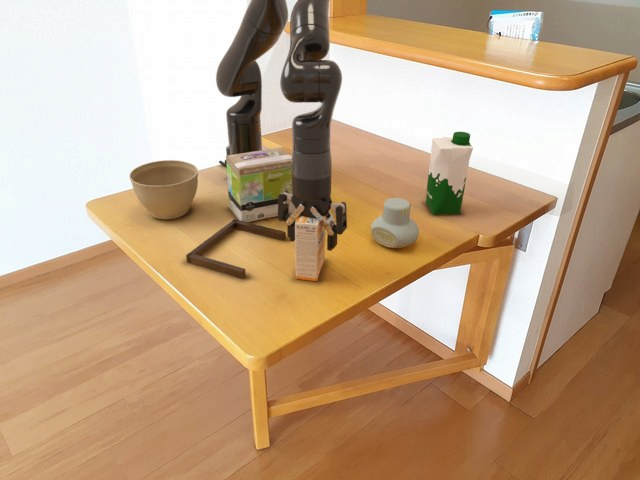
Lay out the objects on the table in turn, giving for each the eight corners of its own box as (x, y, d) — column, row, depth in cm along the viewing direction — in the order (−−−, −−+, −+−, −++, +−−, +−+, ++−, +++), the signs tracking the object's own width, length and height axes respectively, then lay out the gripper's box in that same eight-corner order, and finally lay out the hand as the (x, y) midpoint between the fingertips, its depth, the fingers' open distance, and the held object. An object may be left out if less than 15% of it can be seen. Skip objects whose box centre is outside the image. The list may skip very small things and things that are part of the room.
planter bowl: (160, 233, 121) (153, 191, 115) (124, 212, 130) (116, 172, 124) (215, 211, 131) (211, 171, 125) (178, 192, 140) (173, 155, 135)
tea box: (242, 225, 124) (238, 168, 117) (229, 208, 132) (224, 154, 125) (298, 212, 130) (297, 158, 123) (282, 197, 138) (280, 145, 131)
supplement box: (317, 282, 104) (318, 225, 97) (295, 279, 105) (294, 223, 98) (325, 260, 111) (326, 206, 104) (304, 258, 112) (303, 204, 105)
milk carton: (464, 215, 130) (477, 140, 120) (430, 216, 129) (440, 140, 119) (454, 200, 138) (465, 128, 127) (421, 201, 137) (429, 128, 127)
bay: (186, 262, 110) (185, 255, 109) (234, 225, 124) (234, 218, 124) (242, 279, 105) (242, 271, 104) (286, 238, 119) (285, 231, 118)
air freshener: (364, 240, 119) (366, 201, 114) (384, 227, 124) (387, 190, 119) (403, 257, 113) (407, 217, 108) (423, 243, 118) (428, 204, 113)
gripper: (354, 169, 97) (351, 243, 105) (287, 158, 102) (289, 229, 110) (338, 184, 91) (336, 261, 99) (268, 170, 96) (272, 245, 104)
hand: (311, 244), depth 105 cm, fingers open, 8 cm apart
